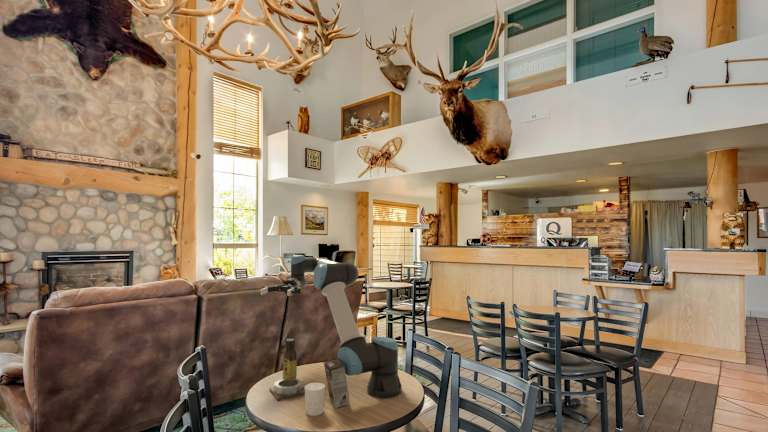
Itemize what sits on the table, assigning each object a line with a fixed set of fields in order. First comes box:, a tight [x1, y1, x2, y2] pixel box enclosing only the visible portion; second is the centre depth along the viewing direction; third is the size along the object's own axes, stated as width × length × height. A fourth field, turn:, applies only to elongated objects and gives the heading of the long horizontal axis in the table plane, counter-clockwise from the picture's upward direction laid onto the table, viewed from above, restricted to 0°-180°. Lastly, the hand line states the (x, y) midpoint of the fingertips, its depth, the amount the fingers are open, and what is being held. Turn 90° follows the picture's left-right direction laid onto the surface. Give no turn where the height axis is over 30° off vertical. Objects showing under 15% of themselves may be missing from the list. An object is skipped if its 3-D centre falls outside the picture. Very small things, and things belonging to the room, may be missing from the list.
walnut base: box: [269, 386, 305, 402], centre depth 179 cm, size 13×13×1 cm
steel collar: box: [273, 377, 303, 395], centre depth 179 cm, size 12×12×3 cm
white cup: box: [304, 382, 326, 417], centre depth 160 cm, size 8×8×10 cm
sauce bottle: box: [282, 338, 298, 379], centre depth 191 cm, size 6×6×20 cm
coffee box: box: [323, 358, 351, 409], centre depth 169 cm, size 9×6×16 cm
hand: (274, 292), depth 199 cm, fingers open, 13 cm apart
